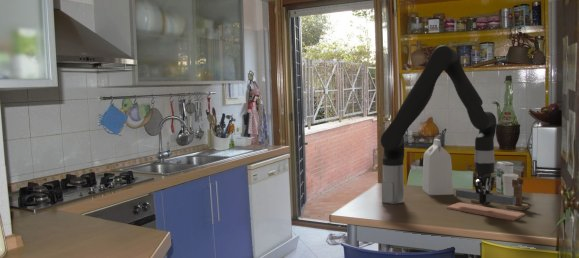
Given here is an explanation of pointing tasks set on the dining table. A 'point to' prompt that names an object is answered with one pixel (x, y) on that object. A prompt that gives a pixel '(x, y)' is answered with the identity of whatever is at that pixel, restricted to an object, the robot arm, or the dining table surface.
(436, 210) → the dining table surface
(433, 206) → the dining table surface
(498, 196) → the rail
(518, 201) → the stand right
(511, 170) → the syrup box
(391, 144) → the robot arm
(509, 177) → the cup
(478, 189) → the stand left
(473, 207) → the mat
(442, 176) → the milk
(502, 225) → the dining table surface
